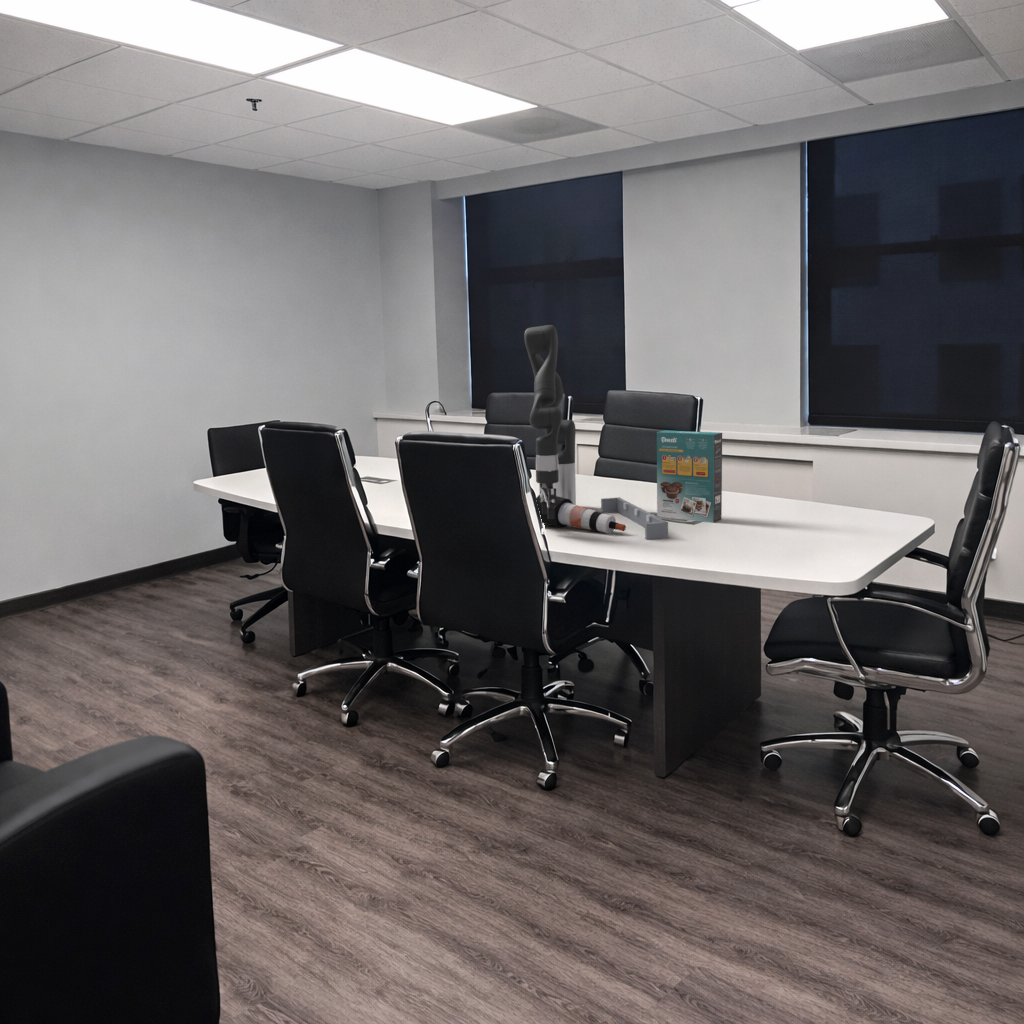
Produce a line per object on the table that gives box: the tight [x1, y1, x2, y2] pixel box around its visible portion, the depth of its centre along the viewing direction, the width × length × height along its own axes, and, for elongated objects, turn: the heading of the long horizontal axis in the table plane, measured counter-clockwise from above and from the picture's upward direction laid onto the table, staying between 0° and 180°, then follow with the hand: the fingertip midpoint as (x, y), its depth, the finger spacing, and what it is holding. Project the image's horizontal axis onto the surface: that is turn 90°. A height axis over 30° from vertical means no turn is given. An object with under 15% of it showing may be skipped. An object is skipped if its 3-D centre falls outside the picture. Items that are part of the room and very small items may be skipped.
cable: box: [535, 494, 627, 535], centre depth 308 cm, size 10×34×10 cm, turn 50°
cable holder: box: [600, 497, 669, 540], centre depth 315 cm, size 50×7×5 cm, turn 11°
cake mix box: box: [656, 430, 723, 523], centre depth 319 cm, size 22×6×30 cm, turn 51°
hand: (548, 516), depth 307 cm, fingers open, 8 cm apart
